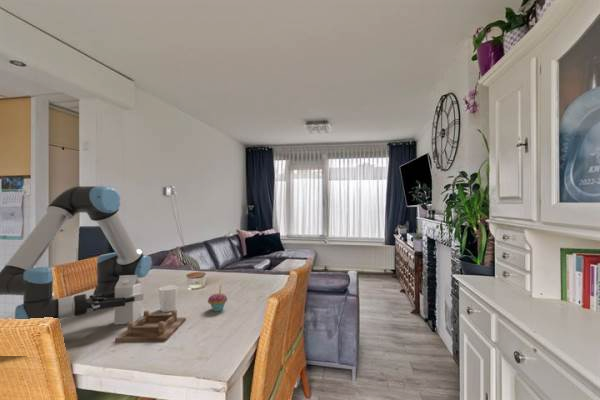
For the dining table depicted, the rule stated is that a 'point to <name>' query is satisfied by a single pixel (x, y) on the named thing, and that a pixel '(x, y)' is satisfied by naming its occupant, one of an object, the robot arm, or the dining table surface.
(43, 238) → the robot arm
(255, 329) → the dining table surface
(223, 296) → the cupcake
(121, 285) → the milk carton
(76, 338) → the dining table surface
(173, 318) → the walnut stand
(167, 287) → the white cup
